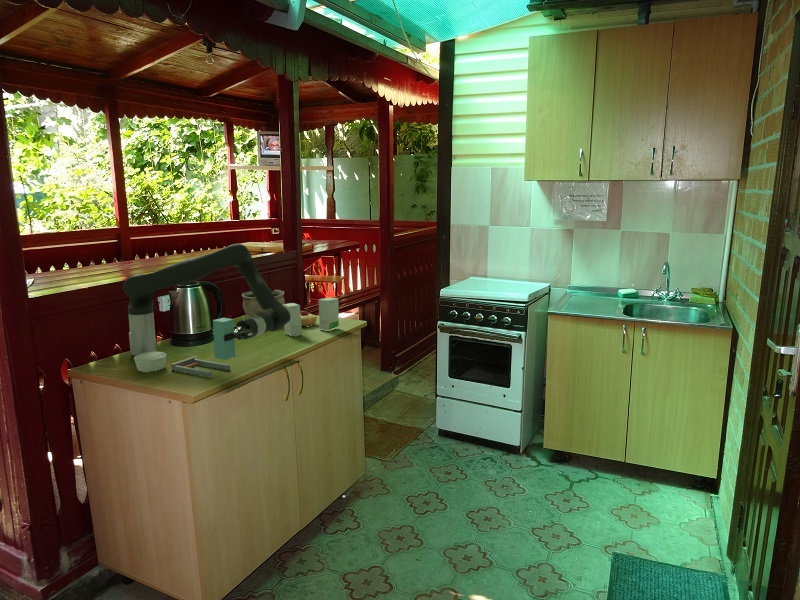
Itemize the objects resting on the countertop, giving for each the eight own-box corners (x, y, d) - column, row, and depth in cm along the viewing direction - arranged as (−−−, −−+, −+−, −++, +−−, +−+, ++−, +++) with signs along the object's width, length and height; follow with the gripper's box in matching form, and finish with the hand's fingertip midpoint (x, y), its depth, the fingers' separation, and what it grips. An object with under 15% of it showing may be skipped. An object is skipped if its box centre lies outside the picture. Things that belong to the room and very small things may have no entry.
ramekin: (165, 372, 197) (164, 358, 196) (132, 374, 194) (131, 361, 193) (169, 363, 208) (168, 350, 207) (138, 365, 204) (136, 352, 203)
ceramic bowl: (294, 318, 286) (293, 290, 283) (268, 326, 266) (267, 297, 264) (261, 314, 295) (260, 288, 292) (234, 322, 275) (232, 294, 272)
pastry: (288, 327, 266) (288, 310, 264) (299, 322, 277) (299, 305, 275) (310, 329, 262) (309, 311, 261) (320, 323, 274) (320, 307, 272)
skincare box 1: (302, 335, 249) (301, 305, 246) (290, 337, 246) (289, 306, 243) (295, 332, 256) (294, 302, 253) (283, 333, 253) (282, 303, 250)
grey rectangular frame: (171, 370, 198) (171, 364, 198) (193, 363, 208) (192, 356, 207) (209, 378, 190) (209, 371, 190) (230, 369, 199) (229, 363, 199)
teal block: (214, 357, 191) (212, 320, 188) (224, 354, 195) (223, 317, 193) (225, 359, 189) (223, 322, 186) (235, 356, 193) (233, 319, 190)
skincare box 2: (328, 332, 256) (328, 300, 253) (318, 330, 259) (317, 299, 256) (339, 328, 263) (339, 298, 260) (329, 327, 266) (328, 296, 263)
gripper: (236, 315, 205) (203, 324, 190) (265, 320, 199) (233, 329, 184) (237, 334, 207) (204, 344, 192) (266, 339, 201) (234, 350, 186)
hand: (218, 337), depth 188 cm, fingers closed on teal block, 5 cm apart
